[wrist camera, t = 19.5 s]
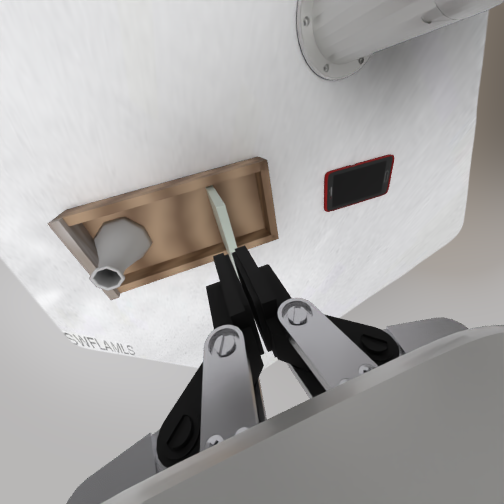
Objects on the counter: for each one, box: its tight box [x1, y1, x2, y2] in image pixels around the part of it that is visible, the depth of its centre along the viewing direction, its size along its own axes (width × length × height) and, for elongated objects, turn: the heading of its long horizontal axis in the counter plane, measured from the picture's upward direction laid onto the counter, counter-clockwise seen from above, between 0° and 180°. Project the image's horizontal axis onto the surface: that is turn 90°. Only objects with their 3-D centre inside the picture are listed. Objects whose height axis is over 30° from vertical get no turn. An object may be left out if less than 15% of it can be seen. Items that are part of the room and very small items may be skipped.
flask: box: [89, 217, 152, 291], centre depth 28 cm, size 7×7×10 cm
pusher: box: [205, 185, 239, 278], centre depth 29 cm, size 1×10×11 cm, turn 12°
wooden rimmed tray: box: [48, 157, 279, 300], centre depth 32 cm, size 28×13×5 cm, turn 102°
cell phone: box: [324, 155, 394, 212], centre depth 41 cm, size 8×15×1 cm, turn 100°
